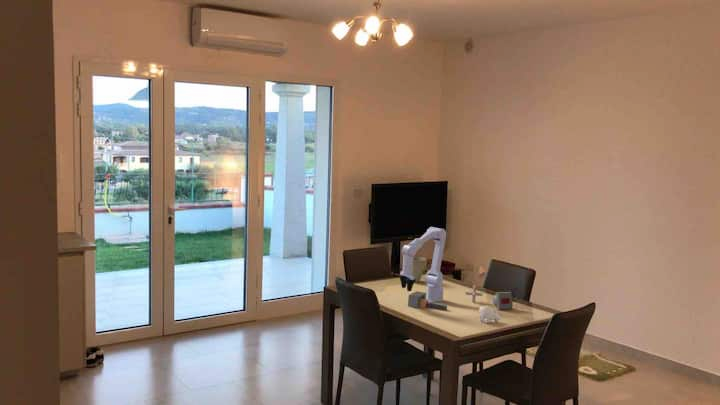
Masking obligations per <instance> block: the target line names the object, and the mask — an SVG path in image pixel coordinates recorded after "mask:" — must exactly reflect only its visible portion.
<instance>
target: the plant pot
mask: <svg viewBox="0 0 720 405" xmlns="http://www.w3.org/2000/svg"><path fill="white" fill-rule="evenodd" d="M426 261H427V259H426V258H424V257H421V256H420V257H419V256H413V272H412V274H413V276H414V279H415V280H416V281H415V282H414V284H417V283H420V281H421V278H422V275H423V273H424V270H425V266H426ZM408 279H409V278H408Z"/></svg>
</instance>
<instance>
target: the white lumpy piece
mask: <svg viewBox="0 0 720 405" xmlns="http://www.w3.org/2000/svg"><path fill="white" fill-rule="evenodd" d="M478 317H479V320H480V321H481V322H483V323H484V324H485V323H486V324H488V322H489V321H493V320H494V323H496V322H497V323H498V322H499V320H501V315H500V314H499V313H496V312H494V310H493V309H492V308H491V307H489V306H485V305H484V306H483V305H482V306H480V307H479V310H478ZM486 324H485V325H486Z"/></svg>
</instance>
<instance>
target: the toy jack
mask: <svg viewBox="0 0 720 405" xmlns="http://www.w3.org/2000/svg"><path fill="white" fill-rule="evenodd" d="M465 295H467V296H472V298H471V302H472V303H476V297H477V296H478V297H479V296H480V297H483V296H484V293H482V292H477V285H472V291H465Z"/></svg>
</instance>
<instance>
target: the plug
mask: <svg viewBox="0 0 720 405" xmlns="http://www.w3.org/2000/svg"><path fill="white" fill-rule="evenodd" d="M420 307H421V308H428V309H433V310H439V311H442V312H443V311H445V312H446V311H447V310H448V305H445V304H439V303H436V302H429V301H428V299H424V298H421V299H420ZM420 307H419V308H420Z"/></svg>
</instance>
